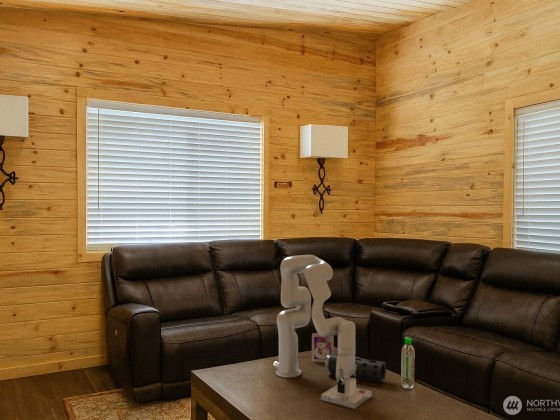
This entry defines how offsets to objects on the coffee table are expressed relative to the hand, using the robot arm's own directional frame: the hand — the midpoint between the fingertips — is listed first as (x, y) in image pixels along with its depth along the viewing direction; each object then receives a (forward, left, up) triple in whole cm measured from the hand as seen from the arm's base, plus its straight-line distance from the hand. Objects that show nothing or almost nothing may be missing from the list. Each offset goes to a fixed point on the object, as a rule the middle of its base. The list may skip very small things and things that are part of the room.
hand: (346, 389), depth 217 cm
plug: (0, 0, -4) cm, 4 cm away
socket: (0, 0, -4) cm, 4 cm away
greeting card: (-34, +38, -4) cm, 51 cm away
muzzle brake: (-8, +24, -4) cm, 26 cm away
